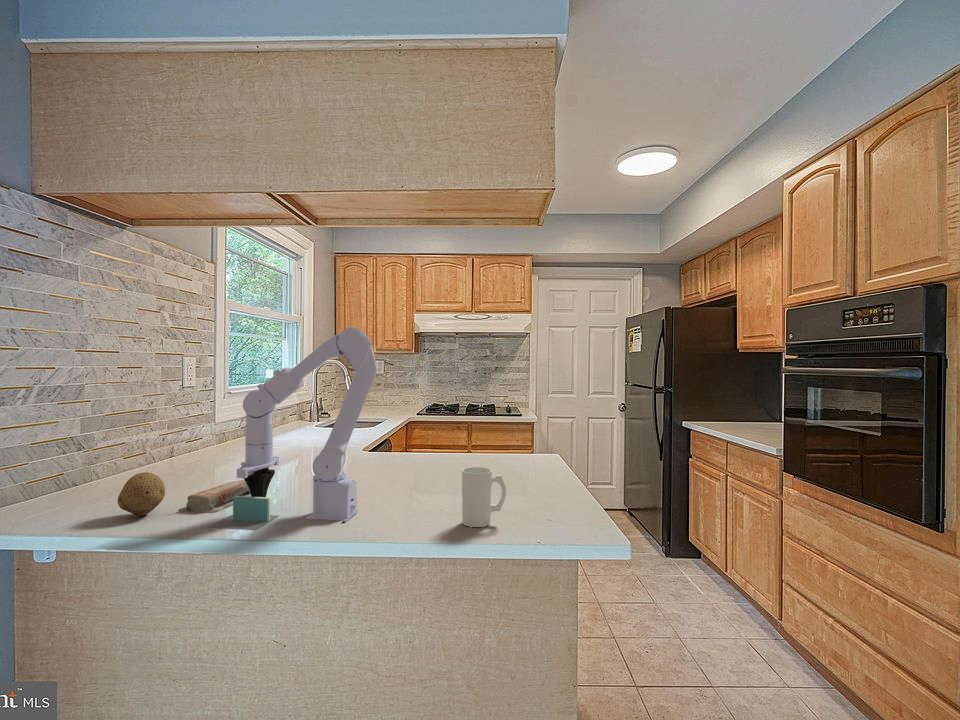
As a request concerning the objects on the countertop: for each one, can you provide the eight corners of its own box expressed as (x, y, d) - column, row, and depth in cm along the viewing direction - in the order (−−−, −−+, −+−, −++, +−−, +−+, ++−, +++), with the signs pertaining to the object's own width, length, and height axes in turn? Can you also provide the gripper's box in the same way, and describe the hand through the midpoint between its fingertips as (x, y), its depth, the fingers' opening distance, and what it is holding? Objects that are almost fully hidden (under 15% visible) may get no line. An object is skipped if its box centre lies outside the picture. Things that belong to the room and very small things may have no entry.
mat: (279, 518, 120) (279, 515, 120) (256, 532, 110) (256, 529, 110) (234, 516, 122) (234, 513, 122) (207, 530, 112) (207, 527, 112)
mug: (461, 528, 114) (461, 473, 114) (461, 519, 121) (461, 466, 121) (507, 528, 115) (507, 473, 115) (504, 518, 122) (505, 467, 122)
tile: (270, 519, 117) (270, 497, 117) (267, 521, 116) (267, 499, 116) (236, 518, 118) (236, 496, 118) (232, 520, 117) (233, 497, 117)
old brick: (215, 496, 122) (178, 494, 124) (215, 517, 122) (177, 514, 124) (262, 479, 139) (228, 477, 141) (261, 497, 140) (228, 495, 141)
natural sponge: (171, 515, 121) (172, 472, 121) (127, 524, 115) (127, 479, 114) (157, 508, 127) (157, 466, 127) (113, 516, 120) (114, 472, 120)
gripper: (259, 437, 127) (259, 493, 127) (223, 448, 113) (223, 511, 113) (287, 438, 126) (286, 495, 127) (254, 449, 112) (254, 512, 112)
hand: (258, 502), depth 120 cm, fingers closed
